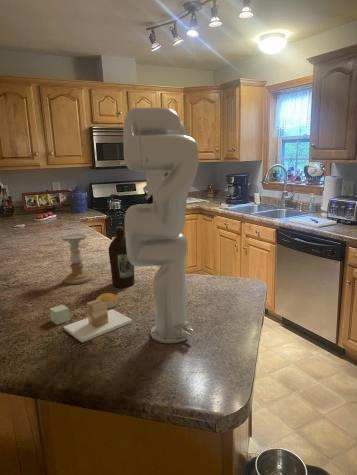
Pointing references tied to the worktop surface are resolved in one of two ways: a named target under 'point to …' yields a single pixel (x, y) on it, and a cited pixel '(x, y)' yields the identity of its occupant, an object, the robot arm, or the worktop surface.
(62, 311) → the sage cube
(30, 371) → the worktop surface
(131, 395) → the worktop surface
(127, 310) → the worktop surface
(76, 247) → the candle holder
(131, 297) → the worktop surface
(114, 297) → the bread roll
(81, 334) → the ceramic tile
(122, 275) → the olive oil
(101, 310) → the maple block
